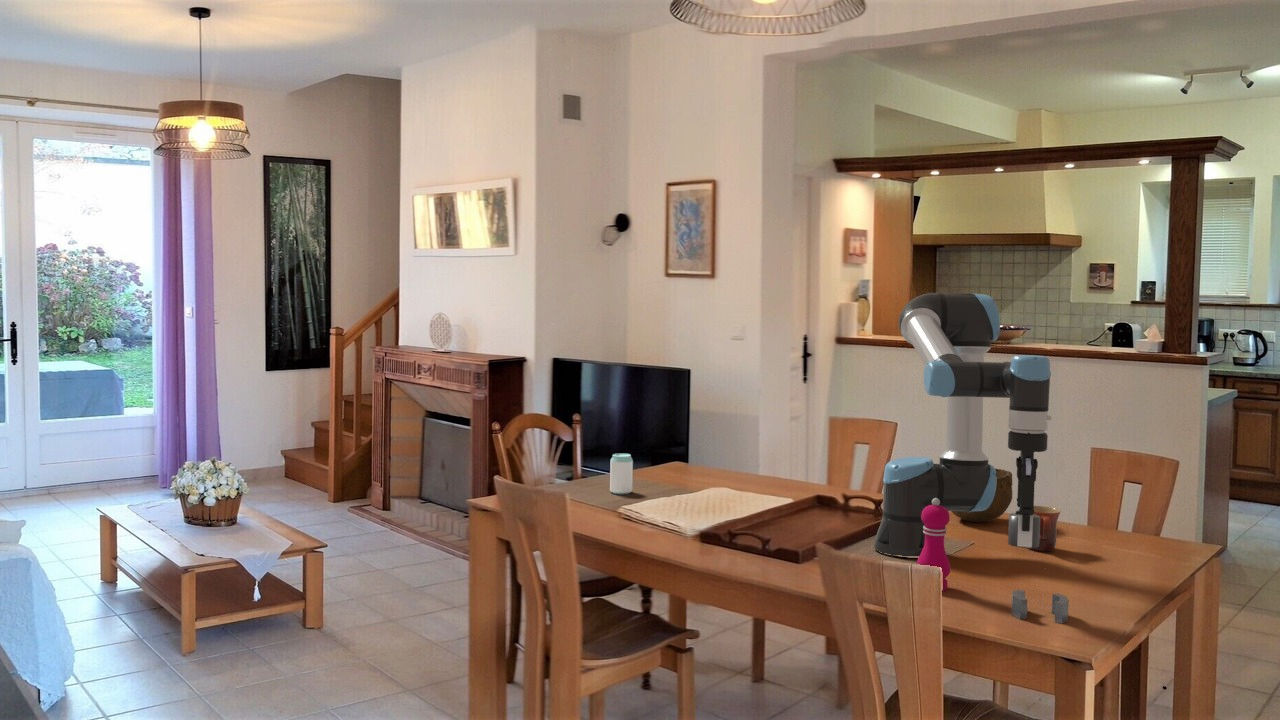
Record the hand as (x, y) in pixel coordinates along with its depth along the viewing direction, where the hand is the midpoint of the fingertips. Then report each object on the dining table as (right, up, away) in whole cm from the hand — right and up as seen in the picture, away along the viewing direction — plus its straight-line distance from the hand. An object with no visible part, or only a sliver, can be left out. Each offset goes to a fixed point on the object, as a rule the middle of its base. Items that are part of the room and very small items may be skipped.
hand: (1023, 542), depth 211 cm
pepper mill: (-14, -13, +16) cm, 25 cm away
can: (-85, -4, +111) cm, 140 cm away
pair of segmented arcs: (+2, -14, -3) cm, 15 cm away
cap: (0, 0, 0) cm, 0 cm away
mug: (+23, -11, +49) cm, 56 cm away
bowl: (+16, -8, +81) cm, 83 cm away
